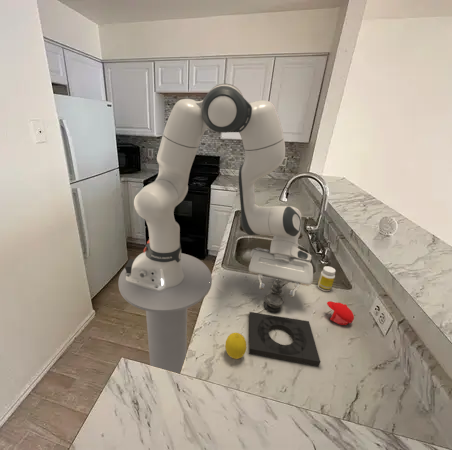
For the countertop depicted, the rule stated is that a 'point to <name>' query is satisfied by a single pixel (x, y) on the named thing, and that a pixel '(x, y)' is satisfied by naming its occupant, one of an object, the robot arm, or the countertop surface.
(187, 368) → the countertop surface
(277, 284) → the dark grey statuette
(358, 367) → the countertop surface
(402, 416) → the countertop surface
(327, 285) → the supplement bottle
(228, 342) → the lemon
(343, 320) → the cap
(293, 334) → the pad
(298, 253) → the robot arm
